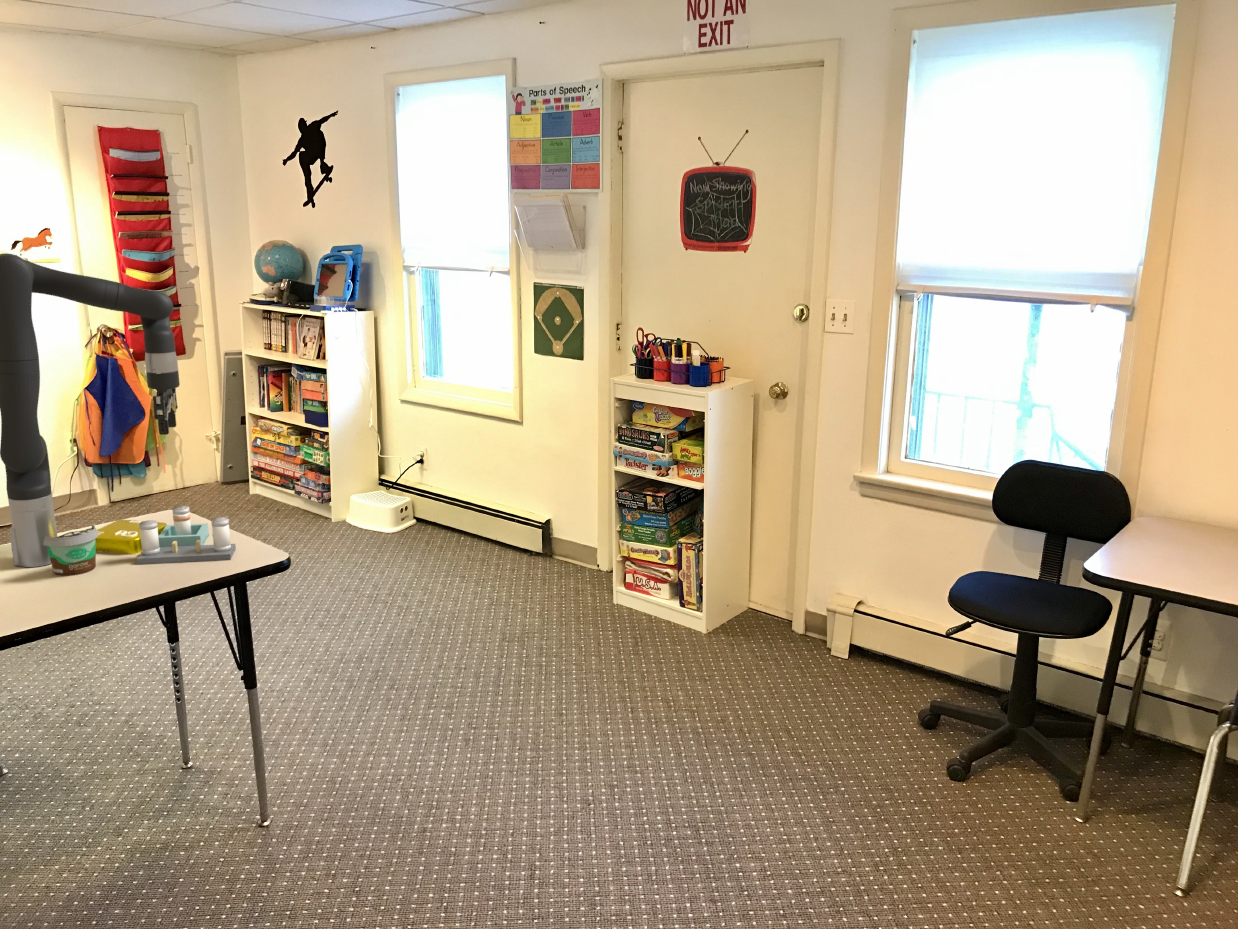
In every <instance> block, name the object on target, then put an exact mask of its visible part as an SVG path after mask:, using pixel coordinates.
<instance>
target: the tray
mask: <svg viewBox="0 0 1238 929" xmlns="http://www.w3.org/2000/svg"><path fill="white" fill-rule="evenodd" d="M191 532H192V535H176V536H175V529H174V524H167V526H166V527H165V528H164V529H163V531H162V532H161V533H160V535H159V536H158V538H159V547H172V543H173V541H177V546H196V541H197V540H201V545H205V543H206V541H207V540H208V538H209V536H210V533H209V523H191Z"/></svg>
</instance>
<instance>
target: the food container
mask: <svg viewBox="0 0 1238 929" xmlns="http://www.w3.org/2000/svg"><path fill="white" fill-rule="evenodd" d="M97 530H98V529H97V528H96V527H95V525H94V524H91V527H90V528H87V529H84V530H79V531H78V530H77V531H70V532H67V533H64V534H62V535H59V536H58V535H57V536H58V537H55V538H52V537H46V536H45V539H44V543H43V545H45V546H47V549H48V553H49V557H50V561H51V564H50V565H51V568H52V572H53V574H54V575H55V576H59V577H68V576H69V577H71V576H78V575H83V574H85V573H86V574H87V573H89V572H91V571H93V570H95V569H96V566H97V563H96V562H97V559H96V555H97V554H96V552H97V551H96V543H95V538H97V537H98V532H97Z"/></svg>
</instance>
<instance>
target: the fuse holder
mask: <svg viewBox="0 0 1238 929" xmlns="http://www.w3.org/2000/svg"><path fill="white" fill-rule="evenodd" d="M142 521H143V522H140V523H139V528H140V536H141V545H142V552H140V553H139V554H138V556H136V565H148V564H149V565H151V564H167V563H168V564H169V563H170V564H171V563H189V562H190V563H191V562H193V563H194V562H210V561H211V562H212V561H230V560H232V558H233V555H234V554H235V551H236V547H237V546H236V543H231V534H230V519H229V518H228V517H225V516H224V517H223V516H222V517H215V518H213V519H211V529H212V530H211V531H212V540H213V541H212V542H213V544H204V545H201V540H197V541H196V546H177V541H173V543H172V547H159V538H158V528H157V527H158V526H157V522H158V521H157V520H153V519H152V520H151V519H150V520H142Z"/></svg>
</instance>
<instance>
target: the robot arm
mask: <svg viewBox="0 0 1238 929" xmlns="http://www.w3.org/2000/svg"><path fill="white" fill-rule="evenodd" d="M33 293H34V294H41V295H47V296H53V297H58V298H62V299H65V300H69V301H73V302H77V303H80V304H83V305H87V306H91V307H96V308H100V309H105V310H109V311H116V312H122V313H123V312H124V313H127V314H128V313H129V314H132V315H136V316H138V317H140V321H141V325H142V330H143V331H142V332H143V343H144V344H143V345H144V354H145V355H144V363H145V373H146V375H145V376H146V383H147V384H146V385H147V388H148V389H151V390H155V391H156V395H152V402H153V414H154V417H153V418H154V420H156V421H157V424H158V434H159V435H161V436H165V435H166V436H167V435H169V433H170V428H176V427H177V419H176V418H177V417H176V416H177V415H176V413H177V409H178V407H179V406H178V400H177V391H176V390H177V388H179V387H180V373H179V364H178V363H179V362H178V357H177V353H176V342H175V334H174V332H173V330H172V328H171V320H170V316H171V315H172V313H173V311H174V303H173V301H172V299H171V297H170V296H169V295H167V294H166V293H164V292H162V291H159V290H157V289H146V288H145V289H144V288H140V287H134V286H131V285H128V284H126V283H121V282H118V281H114V280H108V279H105V278H104V279H103V278H99V277H94V276H89V275H84V274H76V273H71V272H66V271H62V270H57V269H54V268H49V267H47V266H42V265H40V264H37V263H34V262H31V261H29V260H26V259H24V258H22V257H21V256H18V255H17V254H14V253H13V254H12V253H8V252H7V253H6V252H5V253H0V418H1V421H0V424H1V425H0V430H1V431H0V459H1V461H2V463H3V464H4V467H5V468H4V469H5V476H6V477H5V478H6V493H7V501H8V508H9V512H10V514H9V515H10V522H11V527H10V528H9V529H8V532H9V539H10V546H11V553H12V560H13V566H14V567H15V566H20V567H24V568H33V567H34V568H35V567H36V568H37V567H43V566H46V565H52V564H51V561H50V557H49V553H48V549H47V546H45V545H43V543H44V539H45V536H46V537H52V538H55V537H58V530H57V523H56V515H55V514H56V513H55V508H54V507H55V506H54V499H53V493H52V478H51V469H50V463H49V462H50V461H49V452H48V446H47V443H46V440H45V438H44V437H43V436H42V435H41V433H40V428H39V427H40V426H39V421H38V420H39V419H38V407H39V397H40V386H41V369H40V358H39V348H38V343H37V336H36V331H35V328H34V323H33V317H32V316H33V315H32V314H33V312H32V303H33V302H32V300H33ZM161 413H162V414H161Z"/></svg>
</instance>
